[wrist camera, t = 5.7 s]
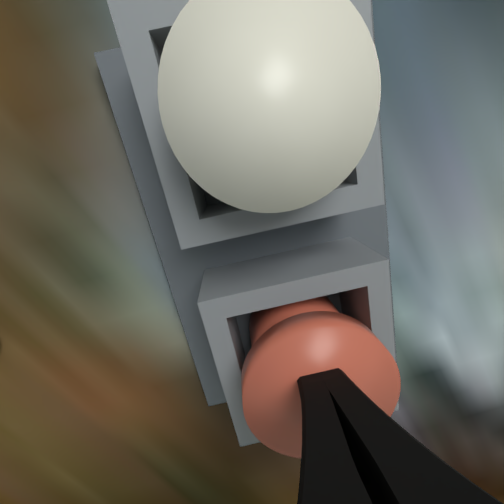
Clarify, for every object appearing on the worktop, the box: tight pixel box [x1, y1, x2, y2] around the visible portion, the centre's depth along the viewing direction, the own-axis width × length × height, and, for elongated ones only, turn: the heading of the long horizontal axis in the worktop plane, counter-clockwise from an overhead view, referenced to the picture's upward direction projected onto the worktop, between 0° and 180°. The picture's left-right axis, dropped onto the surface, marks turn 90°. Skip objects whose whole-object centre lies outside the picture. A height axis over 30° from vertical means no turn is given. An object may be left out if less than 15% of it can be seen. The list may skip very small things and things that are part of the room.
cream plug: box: [158, 0, 381, 213], centre depth 9 cm, size 5×5×4 cm
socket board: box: [94, 0, 399, 447], centre depth 11 cm, size 10×16×4 cm, turn 12°
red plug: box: [241, 296, 400, 458], centre depth 11 cm, size 5×5×4 cm
